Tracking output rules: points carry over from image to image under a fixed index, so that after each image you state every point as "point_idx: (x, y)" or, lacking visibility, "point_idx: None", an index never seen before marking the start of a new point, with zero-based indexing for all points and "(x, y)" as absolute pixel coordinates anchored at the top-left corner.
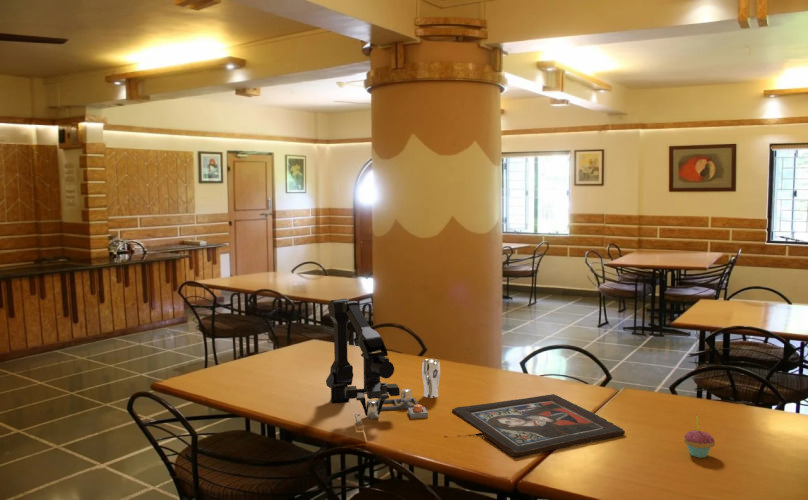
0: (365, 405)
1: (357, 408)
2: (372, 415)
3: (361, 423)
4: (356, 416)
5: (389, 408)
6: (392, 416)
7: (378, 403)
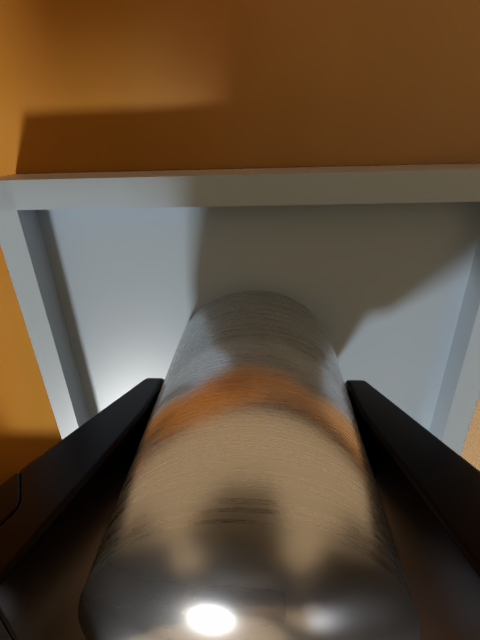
0: (464, 524)
1: None
2: (262, 327)
3: (476, 170)
4: (454, 442)
5: None
6: (27, 429)
7: None
